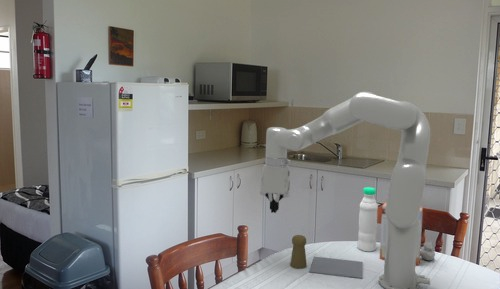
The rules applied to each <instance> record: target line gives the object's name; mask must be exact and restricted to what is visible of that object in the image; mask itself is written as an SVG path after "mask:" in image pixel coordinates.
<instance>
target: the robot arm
mask: <svg viewBox="0 0 500 289" xmlns="http://www.w3.org/2000/svg"><path fill="white" fill-rule="evenodd" d="M362 122H367V123H369V124H374V125H377V126H381V127H384V128H388V129H392V130H396V131H401V138H400V145H399V151H398V156H397V160H396V164H395V166H394V168H393V170H392V173H391V176H390V177H391V179H390V182H389V187H388V188H389V189H388V193H387V198H386V199H387V200H386V202H385V203H386V209H385V213H386V217H387V230H386V246H385V259H384V264H383V265H384V268H383V274H381V275H379V277H378V283H379V285H380V286H381V287H382V288H384V289H420V284H423V285H431V278H428V277H426V275H419V274H418V273H416V265H415V263H416V248H417V236H418V222H419V211H420V207H422V206H421V205H422V201H423V195H424V190H425V184H426V179H427V178H426V177H427V175H426V174H427V172H426V171H427V169H426V168H427V162H428V157H429V149H430V144H431V135H432V134H431V126H430V122H429V120H428V119H427V116H426V114H425V113H424V112H423V111H422V110H421V109H420V108H419V107H418V106H416V105H415V104H414V103H411V102H409V101H406V100H402V101H399V100H395V99H392V98H388V97H384V96H380V95H377V94H375V93H373V92H371V91H360V92H357V93H356V94H354V95H353V96H352V97H351V98H349V99H347V100H345V101H343V102H341V103H339V104H337V105H334V106H333V107H331V108H328V110H325V111H324V113H323V114H322V115H320V116H319V117H317V118H316V119H313V120H312V121H310V122H307V123H305V124H304V125H302V126H300V127H296V128H291V129H287V128H285V127H282V126H281V127H280V126H279V127H278V126H272V127H271V126H270V127H268V128H267V129H266V136H265V138H266V139H265V163H264V164H263V166H262V170H261V177H260V192H259V194H260V196H263V197H265V198H267V200H268V201H269V210H270V213H274V214H277V212H278V211H279V207H280V201H281V200H283V199H285V198H289V197H290V195H291V194H290V189H291V182H290V181H291V178H290V177H291V176H290V167H289V165H288V164H291V159H289V158H288V151H294V152H297V151H301V150H303V149H305V148H307V147H310V146H311V145H313V144H315V143H317V142H319V141H321V140H323V139H326V138H328V137H330V136H333V135H337V134H339V133H341V132H343V131H346V130H348V129H350V128H352V127H354V126H356V125H358V124H360V123H362ZM274 195H276V196H274Z"/></svg>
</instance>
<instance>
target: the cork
mask: <svg viewBox="0 0 500 289" xmlns="http://www.w3.org/2000/svg"><path fill="white" fill-rule="evenodd" d="M291 243H292V249H291V250H292V251H291V256H290V262H289V265H290V267H291V268H293V269H297V270H299V269H305V268H307V255H306V244H307V238H306V236H305V235H301V234H297V235H296V234H295V235H293V236H292V239H291Z"/></svg>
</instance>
